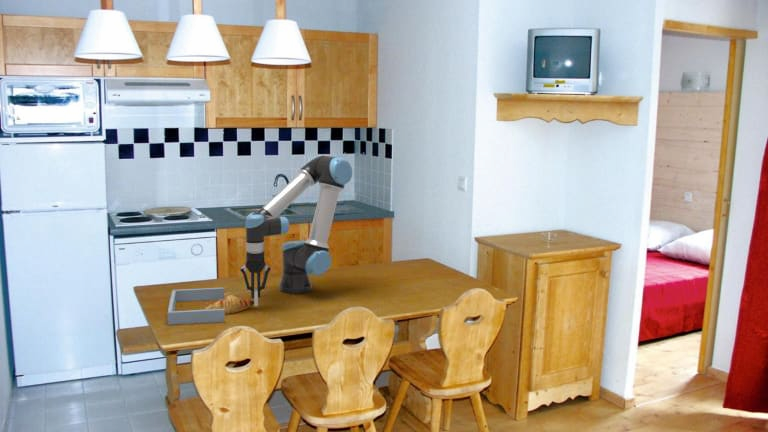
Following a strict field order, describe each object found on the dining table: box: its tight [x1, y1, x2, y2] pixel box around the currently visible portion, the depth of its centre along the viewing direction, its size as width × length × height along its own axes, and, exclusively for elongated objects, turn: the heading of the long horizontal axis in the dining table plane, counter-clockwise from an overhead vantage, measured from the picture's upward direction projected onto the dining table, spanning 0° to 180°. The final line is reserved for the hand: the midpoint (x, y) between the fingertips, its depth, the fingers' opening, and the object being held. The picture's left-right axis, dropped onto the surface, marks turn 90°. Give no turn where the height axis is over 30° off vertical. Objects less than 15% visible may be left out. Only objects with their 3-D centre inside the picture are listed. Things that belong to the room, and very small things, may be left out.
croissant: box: [204, 294, 254, 315], centre depth 297 cm, size 21×10×8 cm, turn 119°
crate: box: [167, 287, 226, 326], centre depth 296 cm, size 22×33×5 cm, turn 13°
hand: (256, 305), depth 301 cm, fingers closed
